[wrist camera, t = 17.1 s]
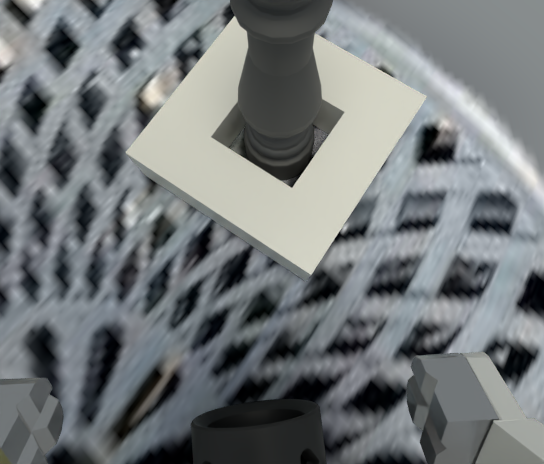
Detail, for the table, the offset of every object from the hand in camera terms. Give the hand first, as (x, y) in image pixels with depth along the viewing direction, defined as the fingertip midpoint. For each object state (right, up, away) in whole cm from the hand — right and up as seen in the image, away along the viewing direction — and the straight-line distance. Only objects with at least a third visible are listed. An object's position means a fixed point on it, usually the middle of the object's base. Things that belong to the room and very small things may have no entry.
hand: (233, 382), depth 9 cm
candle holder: (+2, +11, +30) cm, 32 cm away
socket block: (+1, +11, +30) cm, 32 cm away
